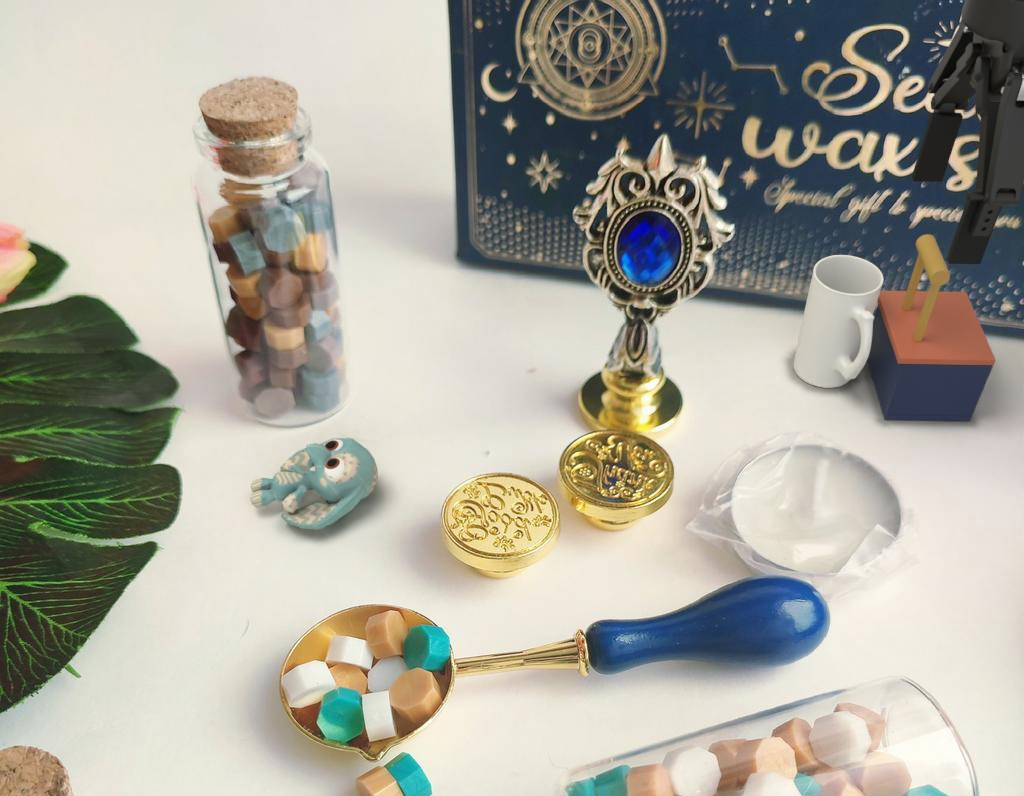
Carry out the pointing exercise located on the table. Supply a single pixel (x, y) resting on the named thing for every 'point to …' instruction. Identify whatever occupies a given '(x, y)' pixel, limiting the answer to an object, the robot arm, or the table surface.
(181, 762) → the table surface
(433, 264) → the table surface
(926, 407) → the blue open box
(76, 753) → the table surface
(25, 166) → the table surface
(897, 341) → the lid
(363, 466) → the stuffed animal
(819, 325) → the mug
